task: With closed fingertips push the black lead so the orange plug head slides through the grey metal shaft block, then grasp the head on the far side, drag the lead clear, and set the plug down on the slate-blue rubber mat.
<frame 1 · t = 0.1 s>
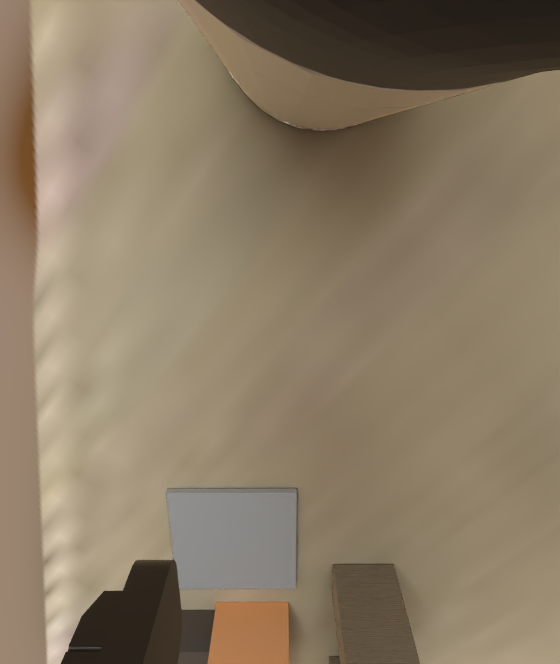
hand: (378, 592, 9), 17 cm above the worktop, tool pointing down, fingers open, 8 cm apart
plug: (253, 625, 34), on the worktop
shaft block: (358, 625, 34), on the worktop
mat: (234, 538, 31), on the worktop
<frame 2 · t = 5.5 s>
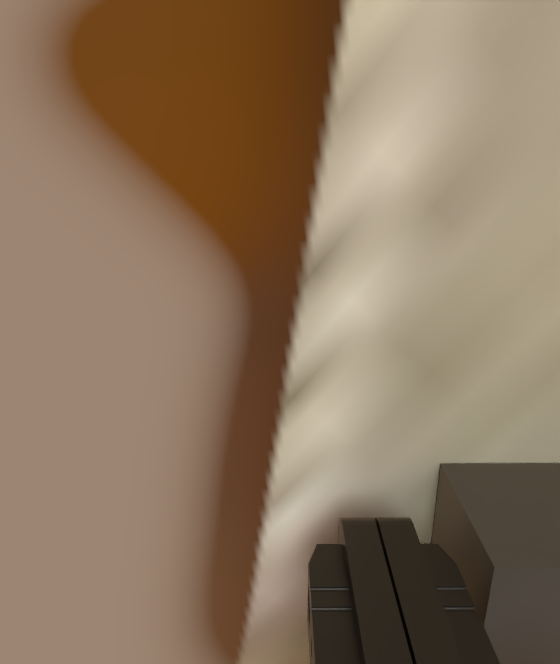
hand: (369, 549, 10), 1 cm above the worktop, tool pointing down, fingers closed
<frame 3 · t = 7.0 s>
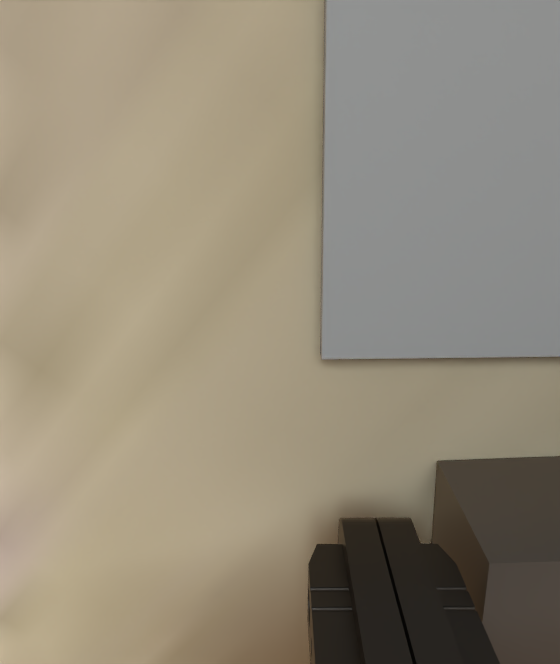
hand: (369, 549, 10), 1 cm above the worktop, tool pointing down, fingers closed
mat: (540, 147, 9), on the worktop
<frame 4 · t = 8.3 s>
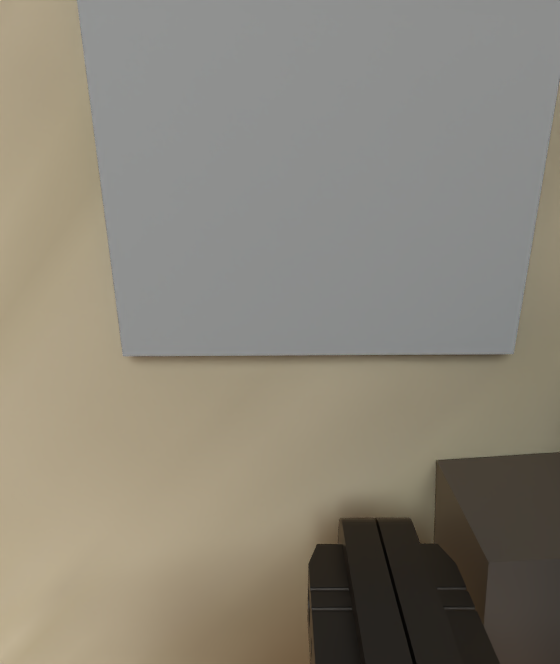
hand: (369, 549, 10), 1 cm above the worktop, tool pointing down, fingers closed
mat: (319, 146, 9), on the worktop
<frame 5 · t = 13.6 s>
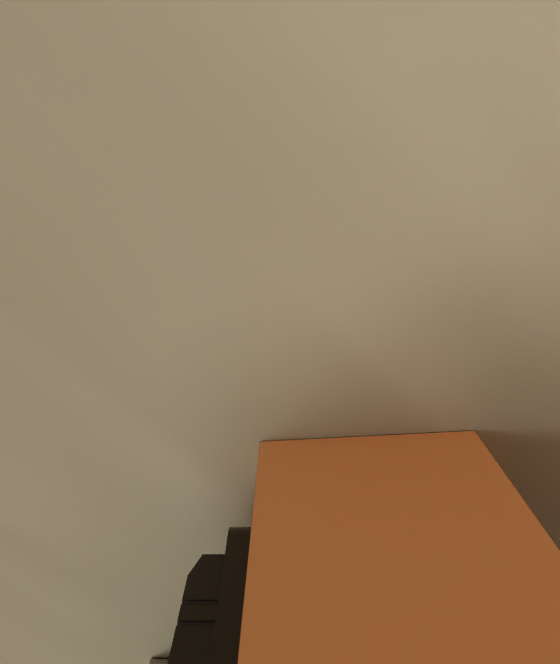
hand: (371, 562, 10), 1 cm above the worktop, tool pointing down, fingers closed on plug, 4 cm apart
plug: (367, 532, 11), on the worktop, touching gripper
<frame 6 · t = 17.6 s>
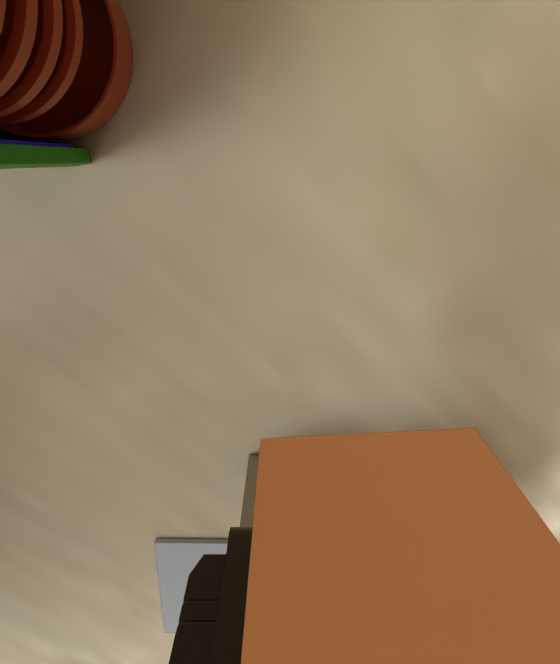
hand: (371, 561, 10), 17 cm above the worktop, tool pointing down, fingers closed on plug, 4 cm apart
plug: (367, 529, 11), point 16 cm above the worktop, touching gripper
shaft block: (342, 482, 30), on the worktop
mat: (219, 585, 33), on the worktop
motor: (37, 51, 22), on the worktop
when the fingers open (2 cm above the worktop, at t = 21.9 s): plug drops 1 cm, resting on mat.
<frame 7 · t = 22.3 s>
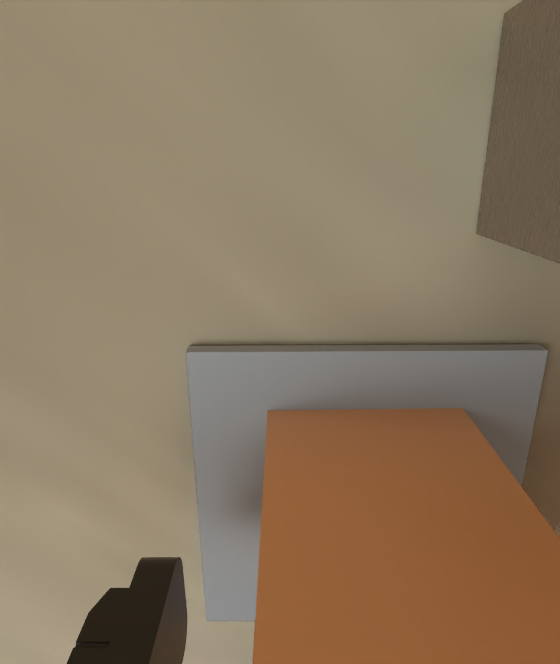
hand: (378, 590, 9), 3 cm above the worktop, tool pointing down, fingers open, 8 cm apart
plug: (360, 498, 12), resting on mat
mat: (355, 490, 12), on the worktop
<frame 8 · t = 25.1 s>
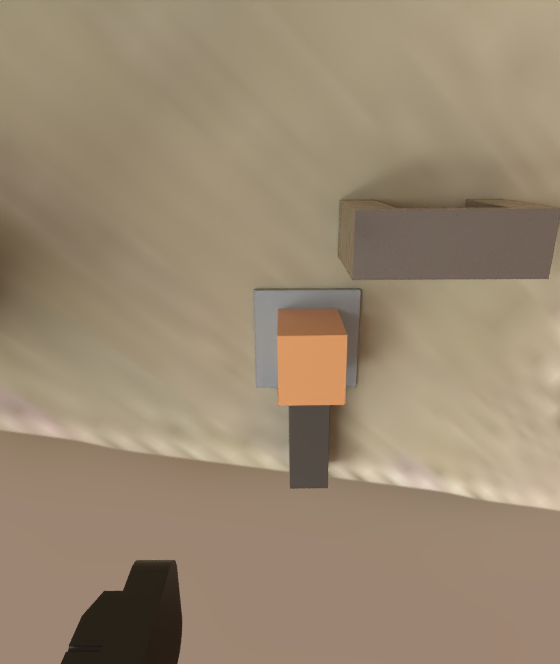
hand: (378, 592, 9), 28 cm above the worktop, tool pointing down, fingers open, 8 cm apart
plug: (307, 339, 37), resting on mat
shaft block: (418, 228, 35), on the worktop
mat: (306, 338, 38), on the worktop
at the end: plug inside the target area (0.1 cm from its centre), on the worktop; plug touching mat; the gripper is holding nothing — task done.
